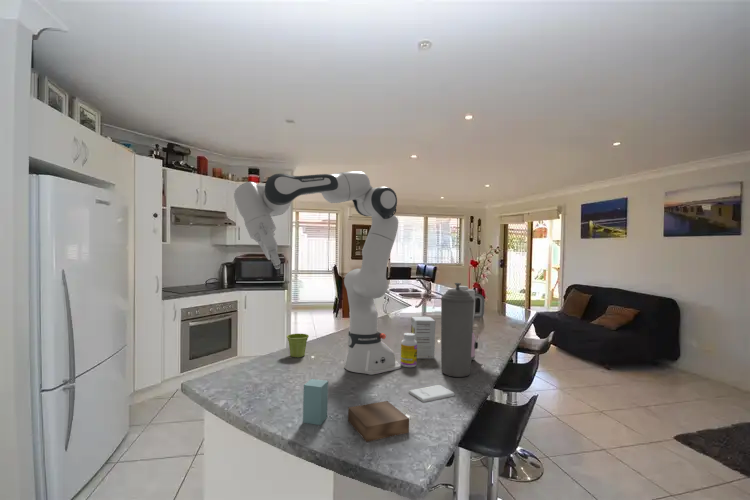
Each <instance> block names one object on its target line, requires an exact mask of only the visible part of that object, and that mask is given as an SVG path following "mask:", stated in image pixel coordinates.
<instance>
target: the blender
mask: <svg viewBox="0 0 750 500" xmlns="http://www.w3.org/2000/svg"><path fill="white" fill-rule="evenodd" d="M459 288H460V289H461V290H466V291H468V293H469V294H470V295H471V296H472V298H473V299H474V309H473V323H474V320H475V319H476V318H477V319H478V318H479V319H480V318H482V317H484V316H485V315H484V313H485V298H484V296H483V294H480V293H476V291H475V289H472V288H469V286H467V285H459ZM450 289H456V287H454V288H447V291H448V290H450ZM476 298H477V299H479V301H480V303H479V304H480V306H479V313H476ZM473 329H474V328H473ZM473 329H472V348H471V361H472V360H473V361H474V360H475V359H476V358H475V357H476V349H478V348H479V343H478V342H477V341H476V335H475V333H474V330H473Z"/></svg>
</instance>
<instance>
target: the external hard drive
mask: <svg viewBox="0 0 750 500" xmlns="http://www.w3.org/2000/svg"><path fill="white" fill-rule="evenodd" d="M408 393H409V394H410V395H411V396H413V397H415V398H416V399H417V400H419V401H421V402H422V403H426V402H431V401H435V400H441V399H446V398H450V397H455V392H454V391H452V390H450V389H448V388H446V387H445V386H444V385H441V384H435V385H431V386H427V387H421V388H415V389H410V390H408Z"/></svg>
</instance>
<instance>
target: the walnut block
mask: <svg viewBox="0 0 750 500" xmlns="http://www.w3.org/2000/svg"><path fill="white" fill-rule="evenodd" d="M347 413H348V415H347V421H348V423H349V424H350V425H351V427H353V428H354V430H355V431H357V433H358V434H359V435H360V436H361V438H362V439H363V440H364V441H365V442H366V443H368V442H373V441H376V440H377V441H378V440H382V439H386V438H391V437H394V436H395V435H396V436H399V435H403V434H408V433H410V417H408V415H406V414H404V413H403V412H402V411H401V410H399V408H398V407H396V406H395V405H393V404H392V403H391V402H390V401H388V400H384V401H378V402H373V403H366V404H361V405H355V406H350V407H348V409H347ZM390 436H391V437H390ZM396 436H395V437H396Z"/></svg>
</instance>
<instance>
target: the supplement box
mask: <svg viewBox="0 0 750 500" xmlns="http://www.w3.org/2000/svg"><path fill="white" fill-rule="evenodd" d="M410 333H413V334H415V338H414V340H416V341H417V359H435V349H436V347H435V344H436V320H435V319H433V317H431V316H411V319H410Z"/></svg>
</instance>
